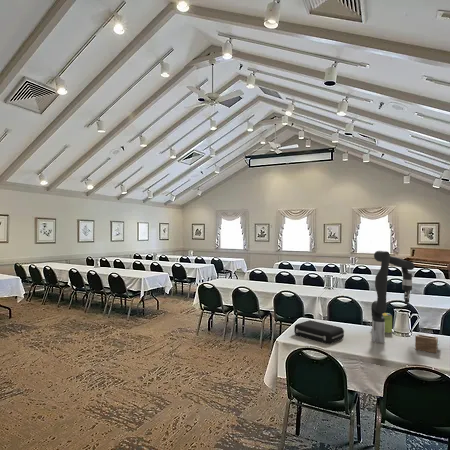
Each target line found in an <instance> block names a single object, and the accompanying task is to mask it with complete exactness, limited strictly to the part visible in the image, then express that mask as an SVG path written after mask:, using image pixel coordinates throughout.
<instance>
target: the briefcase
mask: <svg viewBox="0 0 450 450" xmlns="http://www.w3.org/2000/svg"><path fill="white" fill-rule="evenodd" d="M293 331H294V332H293V333H294V334H295V335H296V336H298V337H303V338H305V339H309V340H313V341H317V342H320V343H323V344H327V345H328V344H330V345H331V344H332V343H335V342H337V341H340V340H343V339H344V337H345V330H344V328H343V327H341V326H336V325H332V324H330V323H329V324H328V323H324V322H319V321H315V320H311V319H310V320H306V321H302V322H300V323H296V324H295V325H294V327H293Z"/></svg>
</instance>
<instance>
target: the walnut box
mask: <svg viewBox="0 0 450 450" xmlns="http://www.w3.org/2000/svg"><path fill="white" fill-rule="evenodd" d="M438 339H439V337H437V336H435V337H431V336H425V335H423V334H417V335H415V339H414V341H415V342H414V343H415V348H414V349H415V350H416V351H420V352H426V353H430V354H431V353H432V354H437V352H438V349H439V344H438V341H439V340H438Z"/></svg>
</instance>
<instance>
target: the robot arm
mask: <svg viewBox="0 0 450 450" xmlns="http://www.w3.org/2000/svg"><path fill="white" fill-rule="evenodd" d="M373 258H374V260H375V261H376V262H380V263H381V265H380V269H379V271H378V272H377V274H376V276H375V279H374V287H375V291H376V296H377V298H376V300H374V301H372V304H371V319H372V318H373V329H372V328H371V338H370V339H371V341H372V342H374V343H376V344H384V343H385V339H386V338H385V335H386V332H385V318H384V317H383V313H386V311H387V307H388V306H387V290H388V289H387V288H388V275H389V267H390V265H393V266H395V267H398V268H400V269H401V273H402V287H401V288H402V291H404V292H403V294H404V295H403V299H404V305H408V304H409V303H410V298H411V291H413V274H412V272H409V271H413V270H414V269H415V264H414V262H412V261H409V260H405V259H402V258H400V257H397V256H391V254H390V252H389V251H386V250H377V251H375V252H374V255H373Z"/></svg>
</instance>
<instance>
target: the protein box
mask: <svg viewBox="0 0 450 450" xmlns="http://www.w3.org/2000/svg"><path fill="white" fill-rule="evenodd" d="M383 317H384V318H385V334H386V333H387V334H390V333H391V332H392V333H393V315H392V314H391V313H390V312H389V313H388V312H385V313H383ZM372 329H373V318H372V317H371V330H372Z"/></svg>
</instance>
